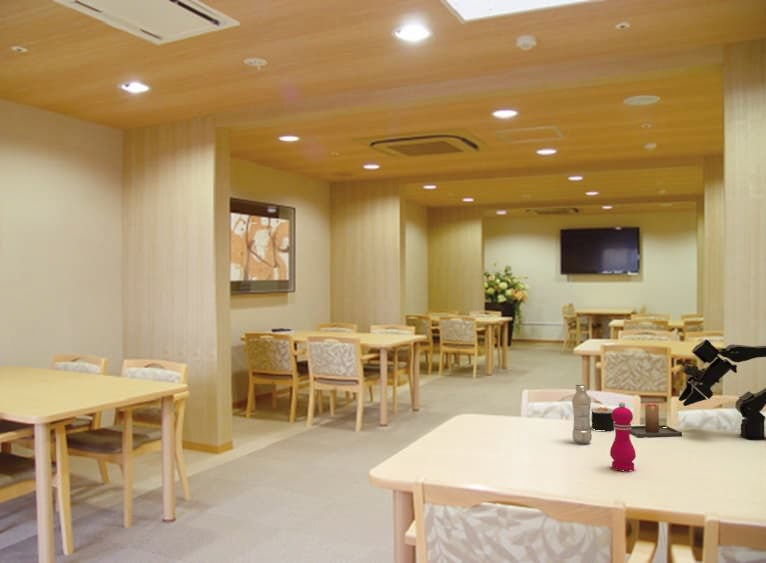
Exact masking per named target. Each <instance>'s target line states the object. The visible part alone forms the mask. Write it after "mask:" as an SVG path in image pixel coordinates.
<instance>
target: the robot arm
mask: <svg viewBox="0 0 766 563" xmlns="http://www.w3.org/2000/svg"><path fill="white" fill-rule="evenodd" d="M691 353H692V354H693V355H694V356H696V358H698V359H699V360H700V361H701V362H702V363H703V364H706V363H707V364H709V365H708V366H707V367H706V368H705V367H702V368H701V369H699V367H698V366H697V365H695V364H692V365H690V364H687V363H684V365H683V367H682V370H681V373H683V374H685V375H688V376H687V377H686V378H685V379H686V380H685V381H684V382H685V388H684V389H683V391H682V393H681V394H680V396H679V397H678V400H679V402H682V401H683V402H682V405H683V406H684V407H687V406H690V405H693V404H695V403H699V402H702V401H707V400H710V399H711V398H712V397H713V396H714V392H713V390H712V389H711V388H713V386H714V385H715V384H719V383H720V382H721V381H720V380H721V379H722V378H723V377H724V376H725V375H726V374H727V373H729V372H730V371H732V372H733V373H735V374H737V373H738V371H737V367H738V366H737V364H732V363H731V362H733V363H742V362H743V363H744V362H746V361H747V362H748V361H750V360H754V359H758V358H766V345H756V346H755V345H753V346H752V345H742V344H729V345H727V346H726V347H723V348H716V346H714V344H712V343H711V342H710V341H709V340H708V339H706V338H705V340H703V341H701V342H700V343H699V344H696V345H695V347H693V348H692V350H691ZM720 356H721V357H720ZM722 357H723V358H725V359H722ZM729 360H730V361H731V362H730V361H729ZM765 407H766V387H764V388H763V389H762V390H760V391H758V392H756V393H753V392H752V391H750V390H749V391H746V392H745V393H744V394H743V395H741V396H738V399H736V401H735V409H736V411H737V412H739V414H741V417H742V418H743V419H741V423H740V433H739V435H740V437H742V438H744V437H745V439H747V440H750V441H751V440H754V439H756V440H766V436H765V420H766V416H765V415H764V414H763V413H761V411H762V410H763V409H764V408H765ZM739 435H738V436H739Z"/></svg>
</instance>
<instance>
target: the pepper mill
mask: <svg viewBox="0 0 766 563" xmlns="http://www.w3.org/2000/svg"><path fill="white" fill-rule="evenodd" d="M612 410H613V411H612V419H613V420H614V430H615V433H614V434H615V437H614V440H613V442H612V445H611V447H610V451H609V456H610V458H611V459H612V461H611V469H613V468H614V469H617V470H624V471H628V472H631V471H630V470H633V471H634V470H635V463H634V462H633V461H634V460H636V456H637V455H636V454H637V453H636V450H635V447H634V445H633V444H632V441H631V437H630V435H631V434H630V429H631V426H632V424H631V422H632V421H633V419H634V415H633V412H632V411H631V409H630V408H628V407H626V404H625V401H620V402H619V403H618V407H616V408H614V409H612ZM614 469H613V470H614ZM617 470H616V471H617ZM624 471H623V472H624Z"/></svg>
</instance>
